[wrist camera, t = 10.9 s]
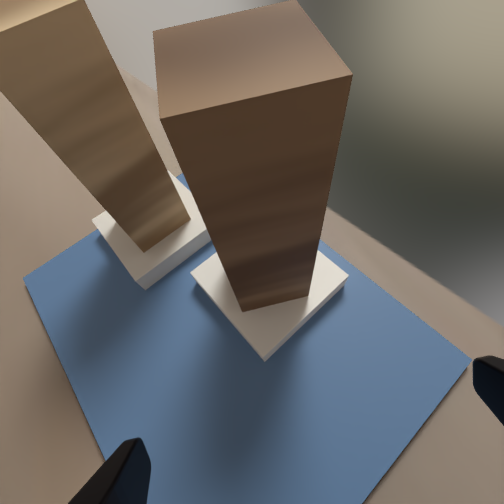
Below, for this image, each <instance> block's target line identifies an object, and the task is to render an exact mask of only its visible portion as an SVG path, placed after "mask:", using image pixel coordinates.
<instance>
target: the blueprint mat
mask: <svg viewBox="0 0 504 504" xmlns="http://www.w3.org/2000/svg"><path fill="white" fill-rule="evenodd" d="M168 173H169V175H170V177H171V179H172V181H173V183H174V185H175V188H176V190H177V192H178V194H179V196H180V198H181V200H182V202H183V204H184V206H185V208H186V210H187V212H188V214H189V216H190V218H191V220H189V221H188V222H186V223H185V224H184V225H182V226H181V227H179V228H178V229H177V230H175V231H174V232H172V233H171V234H170V235H168V236H167V237H165V238H164V239H163V240H161V241H160V242H158V243H157V244H156V245H154V246H153V247H152V248H150V249H149V250H147V251H146V252H145V253H143V252H142V250H141V249H140V248H139V247H138V246H137V245H136V244H135V242H134V241H133V240H132V239H131V238H130V237H129V236H128V235H127V233H126V232H125V231H124V230H123V229H122V228H121V227H120V226H119V224H118V223H117V222H116V221H115V220H114V219H113V218H112V216H111V215H110V214H109V213H108V212H107V211H105V212H103V213H101V214H100V215H98V216H97V217H95V218H94V219H92V221H93V223H94V224H95V225H96V227H97V228H98V229H97V230H95V231H94V232H92V233H91V234H89V235H88V236H86V237H85V238H83V239H82V240H80V241H79V242H77V243H76V244H74V245H72V246H71V247H69V248H68V249H66V250H65V251H63V252H62V253H60V254H59V255H57V256H56V257H54V258H53V259H51V260H50V261H48V262H47V263H45V264H44V265H42V266H41V267H39V268H37V269H36V270H34V271H33V272H31V273H30V274H28V275H27V276H25V277H24V278H23V280H24V282H25V284H26V286H27V289H28V291H29V293H30V295H31V297H32V300H33V302H34V304H35V306H36V308H37V311H38V313H39V315H40V317H41V319H42V322H43V324H44V326H45V328H46V330H47V333H48V335H49V337H50V339H51V342H52V344H53V346H54V348H55V350H56V353H57V355H58V357H59V359H60V361H61V364H62V366H63V368H64V370H65V372H66V375H67V377H68V379H69V381H70V383H71V386H72V388H73V390H74V392H75V394H76V397H77V399H78V401H79V403H80V405H81V408H82V410H83V412H84V414H85V416H86V419H87V421H88V423H89V425H90V427H91V430H92V432H93V434H94V436H95V438H96V441H97V443H98V445H99V447H100V450H101V452H102V454H103V456H104V458H105V461H106V460H107V459H108V458H109V457H110V456H111V455H112V453H113V452H114V451H115V450H116V449H117V448H118V447H119V446H120V444H121V443H122V442H124V441H125V440H128V439H132V438H137V437H140V438H141V439H142V440H143V442H144V445H145V447H146V450H147V452H148V455H149V457H150V460H151V476H150V483H149V491H148V498H147V504H362V503H363V502H364V500H365V499H366V498H367V496H368V495H369V494H370V492H371V491H372V490H373V489H374V487H375V486H376V485H377V483H378V482H379V481H380V479H381V478H382V477H383V475H384V474H385V473H386V472H387V470H388V469H389V468H390V466H391V465H392V464H393V462H394V461H395V460H396V459H397V457H398V456H399V455H400V453H401V452H402V451H403V449H404V448H405V447H406V446H407V444H408V443H409V442H410V440H411V439H412V438H413V436H414V435H415V434H416V432H417V431H418V430H419V429H420V427H421V426H422V425H423V423H424V422H425V421H426V419H427V418H428V417H429V416H430V414H431V413H432V412H433V410H434V409H435V408H436V406H437V405H438V404H439V403H440V401H441V400H442V399H443V397H444V396H445V395H446V393H447V392H448V391H449V389H450V388H451V387H452V386H453V384H454V383H455V382H456V380H457V379H458V378H459V376H460V375H461V374H462V373H463V371H464V370H465V369H466V367H467V366H468V365H469V363H470V362H471V361H472V359H471V358H469V357H468V356H467V355H465V354H464V353H463V352H462V351H460V350H459V349H458V348H457V347H455V346H454V345H453V344H452V343H450V342H449V341H448V340H446V339H445V338H444V337H443V336H441V335H440V334H439V333H438V332H436V331H435V330H434V329H433V328H431V327H430V326H429V325H428V324H426V323H425V322H424V321H422V320H421V319H420V318H419V317H417V316H416V315H415V314H414V313H412V312H411V311H410V310H409V309H407V308H406V307H405V306H403V305H402V304H401V303H400V302H398V301H397V300H396V299H395V298H393V297H392V296H391V295H390V294H388V293H387V292H386V291H385V290H383V289H382V288H381V287H379V286H378V285H377V284H376V283H374V282H373V281H372V280H371V279H369V278H368V277H367V276H366V275H364V274H363V273H362V272H360V271H359V270H358V269H357V268H355V267H354V266H353V265H352V264H350V263H349V262H348V261H347V260H345V259H344V258H343V257H342V256H340V255H339V254H338V253H336V252H335V251H334V250H333V249H331V248H330V247H329V246H328V245H326V244H325V243H324V242H323V241H321V240H320V241H319V246H318V251H317V256H316V261H315V266H314V271H313V276H312V281H311V286H310V291H309V296H307V297H303V298H298V299H294V300H290V301H286V302H282V303H278V304H274V305H270V306H266V307H262V308H258V309H254V310H250V311H246V312H242V311H241V308H240V306H239V304H238V301H237V299H236V296H235V294H234V292H233V289H232V287H231V285H230V282H229V280H228V278H227V275H226V273H225V271H224V268H223V266H222V264H221V261H220V259H219V257H218V254H217V252H216V250H215V247H214V245H213V243H212V240H211V238H210V236H209V233H208V231H207V229H206V226H205V224H204V221H203V219H202V217H201V214H200V212H199V210H198V207H197V205H196V203H195V200H194V198H193V196H192V193H191V191H190V189H189V186H188V184H187V182H186V179H185V177H184V175H183V173H182V174H180V175H179V176H177V177H174V176H173V175H172V174H171V173H170V172H169V171H168Z"/></svg>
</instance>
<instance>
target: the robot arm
mask: <svg viewBox="0 0 504 504" xmlns="http://www.w3.org/2000/svg"><path fill="white" fill-rule="evenodd" d="M473 386H474V389H475V391H476V392H477V394H478V395H479V396H480V398H481V399H482V400H483V401H484V402H485V404H486V405H487V406H488V407H489V409H490V410H491V411H492V412H493V413H494V415H495V416H496V417H497V418H498V419H499V421H500V422H501V423H502V424H503V426H504V359H501V358H498V357H495V356H484V357H479V358H476V359H474V361H473ZM150 476H151V460H150V457H149V455H148V452H147V450H146V447H145V445H144V442H143V440H142V439H141V438H140V437H137V438H132V439H128V440H125V441H124V442H122V443H121V444H120V446H119V447H118V448H117V449H116V450H115V451H114V452H113V453H112V455H111V456H110V457H109V458H108V459H107V460H106V461H105V462H104V464H103V465H102V466H101V467H100V468H99V469H98V470H97V471H96V473H95V474H94V475H93V476H92V477H91V478H90V479H89V480H88V482H87V483H86V484H85V485H84V486H83V487H82V488H81V489H80V491H79V492H78V493H77V494H76V495H75V496H74V497H73V498H72V500H71V501H70V502H69V503H68V504H147V498H148V491H149V483H150Z"/></svg>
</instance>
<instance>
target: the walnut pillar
mask: <svg viewBox="0 0 504 504" xmlns="http://www.w3.org/2000/svg"><path fill="white" fill-rule="evenodd" d="M153 39H154V52H155V65H156V78H157V91H158V104H159V116H160V121H161V123H162V125H163V128H164V130H165V132H166V135H167V137H168V139H169V142H170V144H171V146H172V149H173V151H174V154H175V156H176V158H177V161H178V163H179V165H180V168H181V170H182V172H183V175H184V177H185V179H186V182H187V184H188V186H189V189H190V191H191V193H192V196H193V198H194V200H195V203H196V205H197V207H198V210H199V212H200V214H201V217H202V219H203V221H204V224H205V226H206V229H207V231H208V233H209V236H210V238H211V240H212V243H213V245H214V247H215V250H216V252H217V254H218V257H219V259H220V261H221V264H222V266H223V268H224V271H225V273H226V275H227V278H228V280H229V282H230V285H231V287H232V289H233V292H234V294H235V296H236V299H237V301H238V304H239V306H240V308H241V311H242V312H246V311H250V310H254V309H258V308H262V307H266V306H270V305H274V304H278V303H282V302H286V301H290V300H294V299H298V298H303V297H307V296H309V291H310V286H311V281H312V276H313V271H314V266H315V261H316V256H317V251H318V246H319V241H320V236H321V231H322V226H323V221H324V216H325V211H326V206H327V200H328V196H329V191H330V186H331V181H332V176H333V171H334V166H335V161H336V156H337V151H338V146H339V141H340V136H341V131H342V126H343V120H344V116H345V111H346V106H347V101H348V96H349V91H350V86H351V81H352V76H353V74H352V73H351V71H350V70H349V69H348V67H347V66H346V65H345V64H344V62H343V61H342V59H341V58H340V57H339V56H338V54H337V53H336V52H335V50H334V49H333V48H332V47H331V45H330V44H329V43H328V41H327V40H326V39H325V37H324V36H323V35H322V33H321V32H320V31H319V29H318V28H317V27H316V26H315V24H314V23H313V22H312V20H311V19H310V18H309V16H308V15H307V14H306V12H305V11H304V10H303V9H302V7H301V6H300V5H299V3H298V2H297V1H296V0H290V1H285V2H281V3H276V4H272V5H267V6H263V7H258V8H254V9H249V10H245V11H241V12H236V13H232V14H227V15H223V16H218V17H214V18H209V19H205V20H200V21H196V22H192V23H187V24H183V25H178V26H174V27H169V28H165V29H160V30H156V31H153Z"/></svg>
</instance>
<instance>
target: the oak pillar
mask: <svg viewBox="0 0 504 504" xmlns="http://www.w3.org/2000/svg"><path fill="white" fill-rule="evenodd" d="M0 91H1V92H2V93H3V94H4V96H5V97H6V98H7V99H8V100H9V101H10V102H11V103H12V105H13V106H14V107H15V108H16V109H17V110H18V111H19V112H20V114H21V115H22V116H23V117H24V118H25V119H26V120H27V122H28V123H29V124H30V125H31V126H32V127H33V128H34V129H35V131H36V132H37V133H38V134H39V135H40V136H41V137H42V138H43V140H44V141H45V142H46V143H47V144H48V145H49V146H50V148H51V149H52V150H53V151H54V152H55V153H56V154H57V155H58V157H59V158H60V159H61V160H62V161H63V162H64V163H65V164H66V166H67V167H68V168H69V169H70V170H71V171H72V172H73V174H74V175H75V176H76V177H77V178H78V179H79V180H80V181H81V183H82V184H83V185H84V186H85V187H86V188H87V189H88V190H89V192H90V193H91V194H92V195H93V196H94V197H95V198H96V200H97V201H98V202H99V203H100V204H101V205H102V206H103V207H104V209H105V210H106V211H107V212H108V213H109V214H110V215H111V216H112V218H113V219H114V220H115V221H116V222H117V223H118V224H119V226H120V227H121V228H122V229H123V230H124V231H125V232H126V233H127V235H128V236H129V237H130V238H131V239H132V240H133V241H134V242H135V244H136V245H137V246H138V247H139V248H140V249H141V250H142V252H143V253H145V252H146V251H147V250H149V249H150V248H152V247H153V246H154V245H156V244H157V243H158V242H160V241H161V240H163V239H164V238H165V237H167V236H168V235H170V234H171V233H172V232H174V231H175V230H177V229H178V228H179V227H181V226H182V225H184V224H185V223H186V222H188V221H189V220H191V218H190V216H189V214H188V212H187V210H186V208H185V206H184V204H183V202H182V200H181V198H180V196H179V194H178V192H177V190H176V188H175V185H174V183H173V181H172V179H171V177H170V175H169V173H168V171H167V169H166V167H165V165H164V163H163V161H162V159H161V157H160V155H159V153H158V151H157V149H156V146H155V144H154V142H153V140H152V138H151V136H150V134H149V132H148V130H147V128H146V126H145V124H144V122H143V120H142V118H141V116H140V114H139V112H138V109H137V107H136V105H135V103H134V101H133V99H132V97H131V95H130V93H129V91H128V89H127V87H126V85H125V83H124V81H123V79H122V77H121V75H120V72H119V70H118V68H117V66H116V64H115V62H114V60H113V58H112V56H111V54H110V52H109V50H108V48H107V46H106V44H105V42H104V40H103V38H102V36H101V34H100V31H99V29H98V28H97V25H96V24H95V21H94V19H93V17H92V15H91V13H90V11H89V9H88V7H87V5H86V3H85V1H84V0H0Z"/></svg>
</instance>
